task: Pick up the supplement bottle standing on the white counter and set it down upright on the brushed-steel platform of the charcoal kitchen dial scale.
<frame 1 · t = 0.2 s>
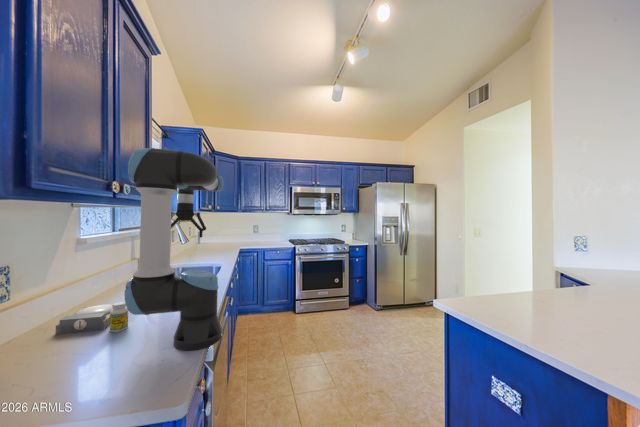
hand: (184, 244, 131), 28 cm above the counter, fingers open, 13 cm apart
scale: (93, 321, 100), on the counter
supplement bottle: (118, 329, 95), on the counter
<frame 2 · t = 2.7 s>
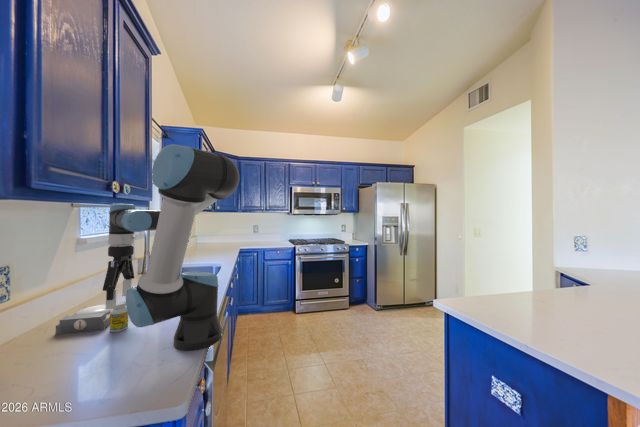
hand: (119, 301, 95), 10 cm above the counter, fingers open, 13 cm apart
nothing on the counter moved.
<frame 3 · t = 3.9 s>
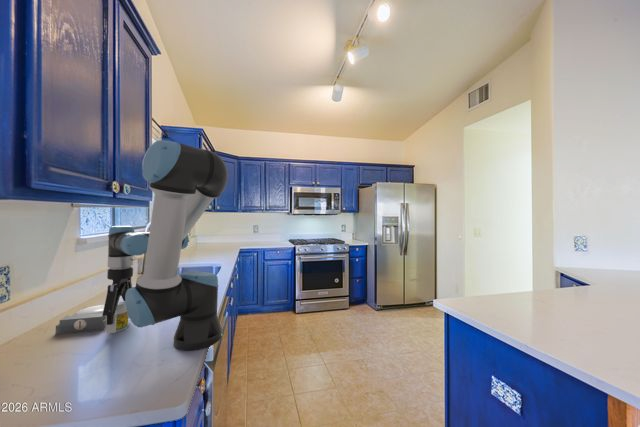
hand: (118, 325, 95), 1 cm above the counter, fingers open, 12 cm apart
nothing on the counter moved.
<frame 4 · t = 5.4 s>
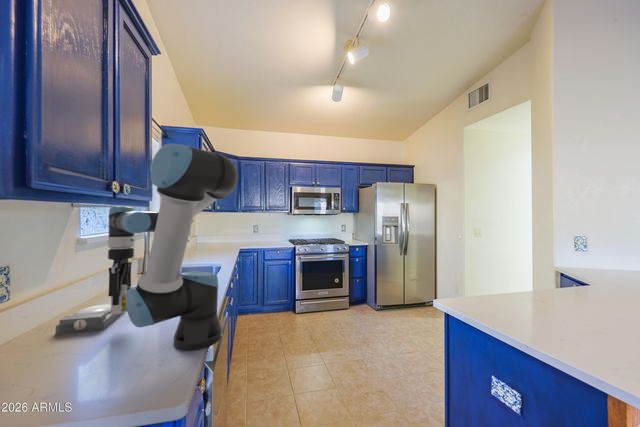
hand: (120, 310, 94), 7 cm above the counter, fingers closed on supplement bottle, 5 cm apart
supplement bottle: (120, 312, 94), point 6 cm above the counter, touching gripper
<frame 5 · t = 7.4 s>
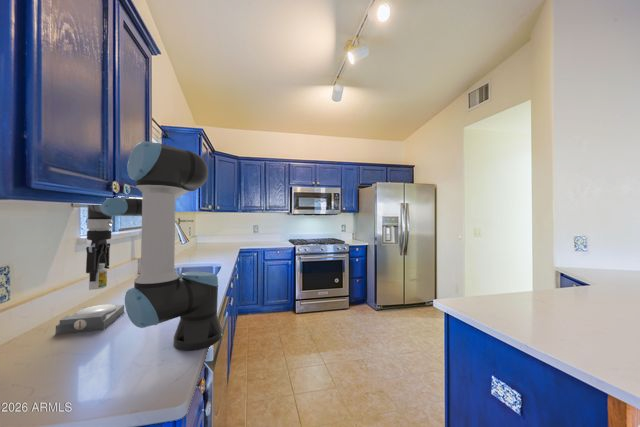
hand: (97, 287, 103), 13 cm above the counter, fingers closed on supplement bottle, 5 cm apart
supplement bottle: (97, 288, 103), point 12 cm above the counter, touching gripper
when the fingers open (5 cm above the counter, at t = 9.4 s): supplement bottle stays where it is, resting on scale.
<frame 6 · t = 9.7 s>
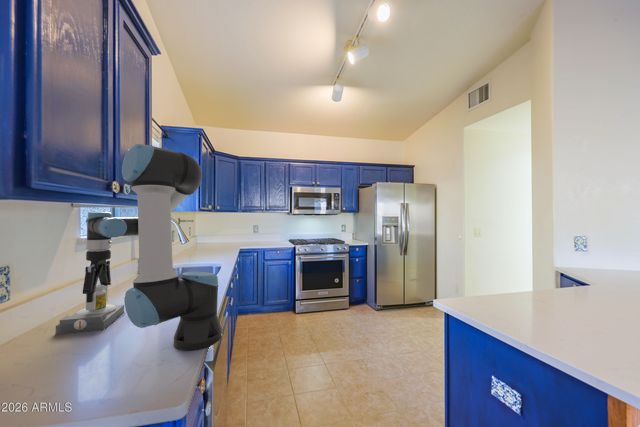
hand: (97, 305, 103), 6 cm above the counter, fingers open, 9 cm apart
supplement bottle: (97, 310, 103), point 4 cm above the counter, touching scale
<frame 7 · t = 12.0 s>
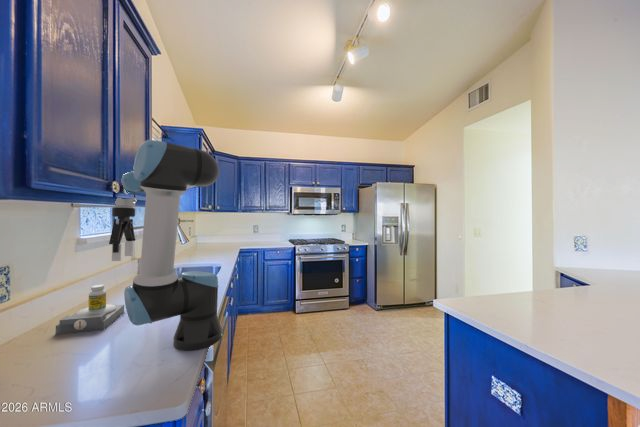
hand: (122, 258, 106), 24 cm above the counter, fingers open, 13 cm apart
nothing on the counter moved.
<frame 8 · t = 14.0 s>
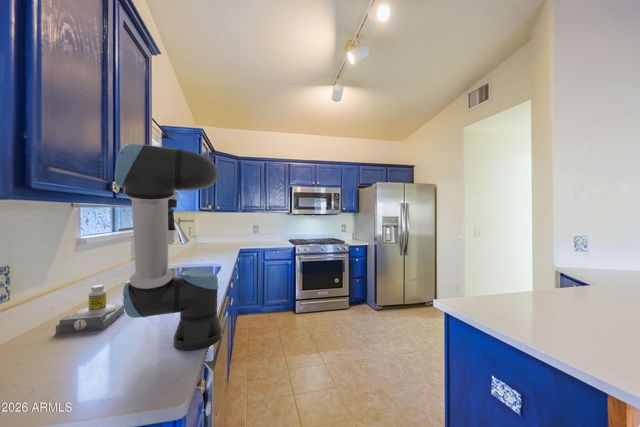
hand: (165, 246, 114), 29 cm above the counter, fingers open, 13 cm apart
nothing on the counter moved.
at the end: supplement bottle inside the target area on the scale (0.1 cm from its centre), point 3.6 cm above the scale's base; supplement bottle tilted 0°; the gripper is holding nothing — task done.
